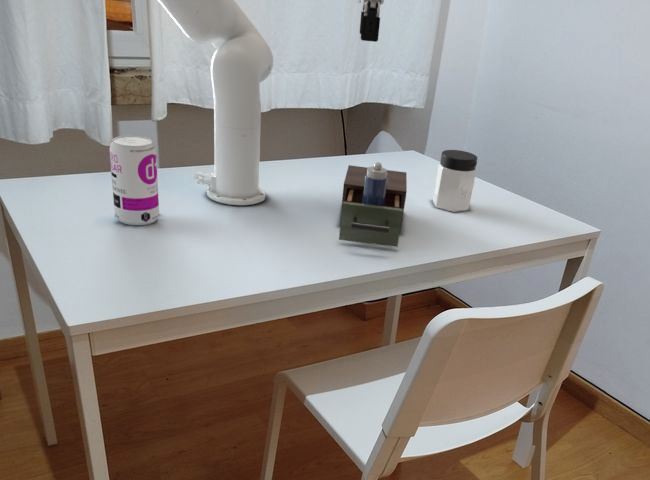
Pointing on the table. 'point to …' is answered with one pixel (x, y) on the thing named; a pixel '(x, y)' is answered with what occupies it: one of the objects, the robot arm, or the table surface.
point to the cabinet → (394, 184)
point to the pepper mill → (375, 185)
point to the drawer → (371, 220)
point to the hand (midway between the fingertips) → (368, 37)
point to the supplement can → (134, 180)
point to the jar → (455, 180)
